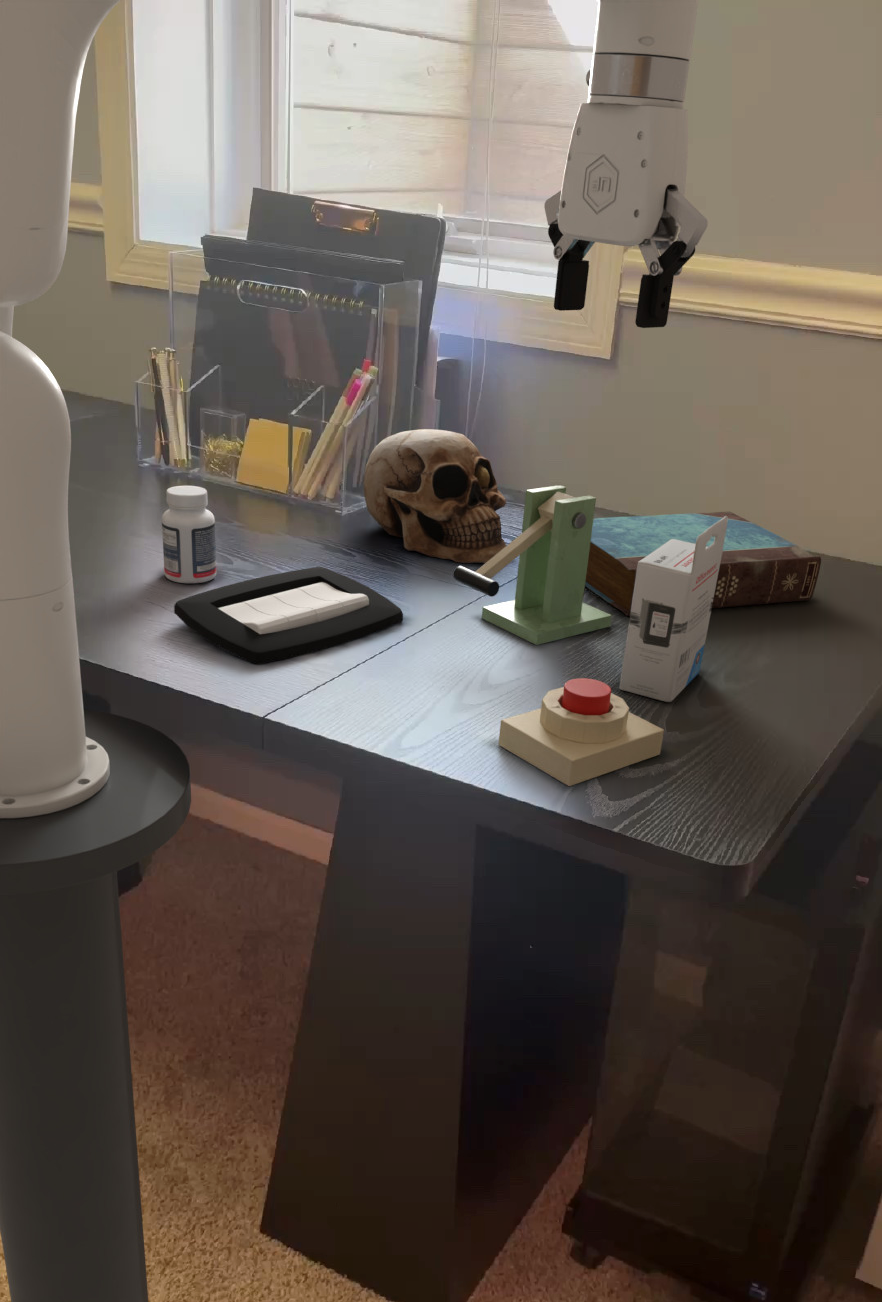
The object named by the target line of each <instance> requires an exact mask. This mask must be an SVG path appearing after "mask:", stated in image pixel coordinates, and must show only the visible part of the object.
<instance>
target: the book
mask: <svg viewBox="0 0 882 1302" xmlns="http://www.w3.org/2000/svg"><path fill="white" fill-rule="evenodd" d="M725 516H727V517H728V522H727V529H726V535H725V540H724V545H723V550H722V557H721V562H720V567H719V572H718V577H717V583H716V588H715V593H714V598H713V603H712V608H711V609H723V608H733V607H744V606H746V607H747V606H756V605H757V606H758V605H770V604H780V603H792V602H804V601H810V600H812V598H813V596H814V592H815V589H816V586H817V582H818V578H819V574H820V570H821V565H822V557H821V556H820V555H812V554H811V553H810V552H808V551H807V550H805V549H804V548H802V547H800V546H799V545H797V544H795V543H793V542H791V541H790V540H788V539H785V538H784V537H781V536H780V535H778V534H776V533H774V532H773V531H770V530H768V529H766V528H764V527H762V526H760V525H758V524H756V523H754V522H752V521H750V520H748V519H746V518H744V517H742V516H740V515H738V514H737V513H734V512H731V511H712V512H711V511H710V512H694V513H693V512H692V513H691V512H690V513H673V514H654V515H651V514H650V515H635V516H633V515H632V516H618V517H617V516H614V517H613V516H612V517H597V518H595V517H594V519H593V527H592V534H591V542H590V550H589V557H588V565H587V573H586V580H585V588H586V589H588V590H589V591H591V592H592V593H594V594H595V595H597V596H598V597H600V598H601V599H602V600H604V601H605V602H607V603H608V604H609V605H611V606H613V607H614V608H616V610H617V609H618V610H619V611H621V612H622V613H623V614H624V615H625V616H627V617H628V616H630V613H631V606H632V600H633V593H634V587H635V580H636V573H637V566H638V562H639V561H640V560H642V559H643V558H645V557H646V556H648V555H649V554H651V553H652V552H654V551H655V550H656V549H658V548H659V547H661V546H662V545H664V544H665V543H667V542H668V541H669V540H671V539H676V540H680V541H684V542H689V543H693V544H696V540H697V537H698V536H699V535H700V534H702V533H703V532H704V531H706V530H707V529H708V528H709V527H711V526H712V525H714V524H715V523H717V522H718V521H720V520H721V519H723V518H724V517H725ZM714 540H715V537H712V536H711V539H710V541H708V542H707V544H706V547H709V546H710V545H712V544H713V542H714Z"/></svg>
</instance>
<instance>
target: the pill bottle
mask: <svg viewBox="0 0 882 1302" xmlns="http://www.w3.org/2000/svg"><path fill="white" fill-rule="evenodd" d="M165 494H166V503H167V506H168V507H169V508H168V509H166V510H165V511H164V512H163V514H162V515H161V535H162V552H163V571H164V576H165V577H166V579H168V580H170V581H172V582H174V583H179V584H202V583H206V582H210V581H212V580H213V579H215V578H216V576H217V570H218V569H217V546H216V541H217V540H216V519H215V518H216V517H215V515H214V514H213V512H211V510H209V509H207V506H208V505H209V501H208V500H209V499H208V490H207V489H206V488H204V487H202V486H195V485H176V486H175V485H174V486H171V487H168V488H167V489H166V493H165Z"/></svg>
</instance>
